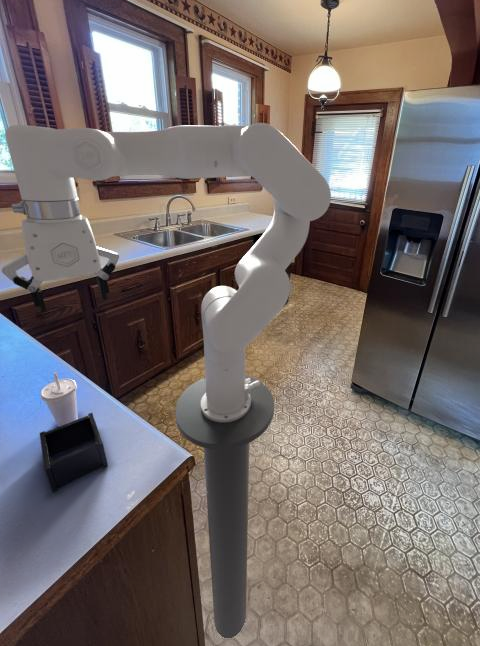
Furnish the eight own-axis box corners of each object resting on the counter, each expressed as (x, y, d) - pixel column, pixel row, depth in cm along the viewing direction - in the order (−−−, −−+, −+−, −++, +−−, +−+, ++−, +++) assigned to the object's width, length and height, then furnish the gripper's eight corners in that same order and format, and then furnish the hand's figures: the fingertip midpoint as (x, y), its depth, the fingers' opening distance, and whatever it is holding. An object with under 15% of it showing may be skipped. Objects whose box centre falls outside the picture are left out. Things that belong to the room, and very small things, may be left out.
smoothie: (57, 438, 66) (41, 386, 60) (46, 423, 69) (29, 372, 64) (89, 420, 71) (77, 370, 65) (77, 407, 74) (64, 358, 69)
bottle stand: (97, 433, 68) (92, 412, 65) (108, 465, 61) (102, 443, 59) (46, 454, 62) (39, 432, 60) (52, 493, 56) (44, 470, 53)
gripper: (-18, 217, 44) (16, 323, 50) (116, 210, 54) (129, 299, 61) (-16, 209, 49) (15, 306, 56) (105, 204, 59) (119, 287, 66)
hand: (74, 303), depth 58 cm, fingers open, 9 cm apart
